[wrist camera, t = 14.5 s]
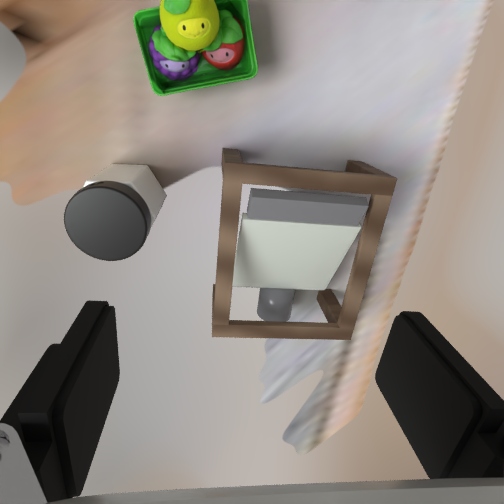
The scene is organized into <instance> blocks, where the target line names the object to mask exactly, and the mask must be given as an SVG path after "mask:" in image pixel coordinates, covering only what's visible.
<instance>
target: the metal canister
mask: <svg viewBox="0 0 504 504" xmlns="http://www.w3.org/2000/svg"><path fill="white" fill-rule="evenodd" d="M294 294H295V289H281V288H260V294H259V301H258V309H257V314H258V316H259V317H260V318H261V319H263V320H265V321H278V322H286V321H288V320H289V318H290V315H291V310H292V304H293V299H294Z"/></svg>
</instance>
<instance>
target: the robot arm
mask: <svg viewBox="0 0 504 504" xmlns="http://www.w3.org/2000/svg"><path fill="white" fill-rule="evenodd" d="M119 374H120V369H119V356H118V343H117V330H116V317H115V308H114V306H109V304H108V302H107V301H87V302H86V303H85V305H84V306H83V308H82V309H81V311H80V313H79V314H78V316H77V318H76V319H75V321H74V323H73V324H72V326H71V327H70V329H69V331H68V332H67V334H66V335H65V337H64V339H63V340H62V342H61V344H52V345H50V346H49V347H48V349H47V350H46V351H45V353H44V355H43V356H42V358H41V359H40V361H39V362H38V364H37V365H36V367H35V368H34V370H33V371H32V373H31V374H30V376H29V378H28V379H27V380H26V382H25V384H24V385H23V387H22V388H21V390H20V391H19V393H18V394H17V396H16V397H15V399H14V400H13V402H12V403H11V405H10V406H9V408H8V409H7V411H6V413H5V414H4V416H3V417H2V419H1V420H0V504H504V400H503V399H501V397H500V396H499V395H498V394H497V393H496V392H495V391H494V390H493V389H492V388H491V387H490V386H489V384H488V383H487V382H486V381H485V380H484V379H483V378H482V377H481V376H480V375H479V374H478V373H477V372H476V371H475V370H474V368H473V367H471V365H470V364H469V363H468V362H467V361H466V360H465V359H464V358H463V357H462V356H461V355H460V354H459V352H458V351H456V349H455V348H454V347H453V346H452V345H451V344H450V343H449V342H448V341H447V340H446V339H445V338H444V337H443V335H442V334H441V333H440V332H439V331H438V330H437V329H436V328H435V327H434V326H433V325H432V324H431V323H430V322H429V321H428V319H427V318H426V317H425V316H424V315H423V314H422V313H420V312H411V311H410V312H409V311H403V312H401V313H400V314H399V315H398V316H396V317H395V319H394V322H393V324H392V327H391V330H390V334H389V336H388V339H387V342H386V345H385V348H384V350H383V353H382V356H381V359H380V362H379V365H378V368H377V371H376V375H375V379H376V383H377V385H378V387H379V389H380V391H381V392H382V394H383V396H384V398H385V400H386V401H387V403H388V405H389V407H390V408H391V410H392V412H393V414H394V416H395V417H396V419H397V421H398V423H399V425H400V427H401V428H402V430H403V432H404V434H405V435H406V437H407V439H408V441H409V443H410V444H411V446H412V448H413V450H414V451H415V453H416V455H417V457H418V459H419V460H420V463H421V464H422V466H423V468H424V469H425V471H426V473H427V475H428V477H429V478H430V479H422V480H421V479H420V480H392V481H391V480H390V481H365V482H364V481H363V482H336V483H313V484H312V483H311V484H287V485H263V486H241V487H219V488H198V489H175V490H160V491H144V492H129V493H114V494H102V495H94V496H85V497H78V496H80V494H81V492H82V490H83V487H84V484H85V481H86V478H87V475H88V472H89V469H90V466H91V463H92V460H93V457H94V454H95V451H96V448H97V445H98V442H99V439H100V436H101V433H102V430H103V427H104V424H105V421H106V418H107V415H108V412H109V409H110V406H111V403H112V400H113V397H114V394H115V391H116V388H117V385H118V382H119ZM76 496H77V497H76ZM73 497H76V498H73Z"/></svg>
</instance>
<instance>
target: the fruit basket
mask: <svg viewBox="0 0 504 504" xmlns="http://www.w3.org/2000/svg"><path fill="white" fill-rule="evenodd" d="M133 21H134V26H135V30H136V33H137V36H138V40H139V44H140V47H141V51H142V54H143V58H144V61H145V65H146V68H147V72H148V76H149V80H150V83H151V86H152V89H153V91H154V92H155V93H156V94H157V95H160V96H164V95H169V94H174V93H179V92H184V91H188V90H194V89H199V88H204V87H210V86H215V85H220V84H225V83H230V82H235V81H241V80H246V79H251V78H253V77H255V76H256V74H257V71H258V65H257V59H256V54H255V47H254V41H253V34H252V28H251V21H250V13H249V6H248V0H161V3H160V7H155V8H150V9H144V10H140V11H138V12H136V13H135V15H134V19H133Z"/></svg>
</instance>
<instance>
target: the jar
mask: <svg viewBox="0 0 504 504" xmlns="http://www.w3.org/2000/svg"><path fill="white" fill-rule="evenodd" d="M166 196H167V195H166V193H165V191H164V190H163V188H162V187H161V185H160V184H159V182H158V181H157V179H156V178H155V176H154V175H153V173H152V171H151V170H150V168H149V167H148V166H147V165H130V164H110V165H109V166H107V167H106V168H104V169H103V170H101V171H100V172H98V173H97V174H96V175H94V176H93V177H91V178H90V179H88V180H87V181H86V182H85V184H84V186H83V188H82V189H80V190H79V191H78V192H77V193H76V194H74V196H73V197H72V198H71V199H70V201H69V202H68V204H67V206H66V209H65V214H64V224H65V228H66V231H67V233H68V235H69V237H70V239H71V240H72V242H73V243H74V244H75V245H76V246H77V247H78V248H79V249H80V250H81V251H83V252H84V253H86V254H88V255H89V256H92V257H94V258H97V259H101V260H106V261H117V260H122V259H126V258H128V257H130V256H132V255H133V254H135V253H136V252H137V251H139V249H140V248H141V247H142V246H143V244H144V242H145V240H146V238H147V236H148V234H149V231H150V228H151V226H152V224H153V222H154V221H155V219H156V217H157V215H158V213H159V211H160V209H161V207H162V205H163V202H164V200H165V198H166Z"/></svg>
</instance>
